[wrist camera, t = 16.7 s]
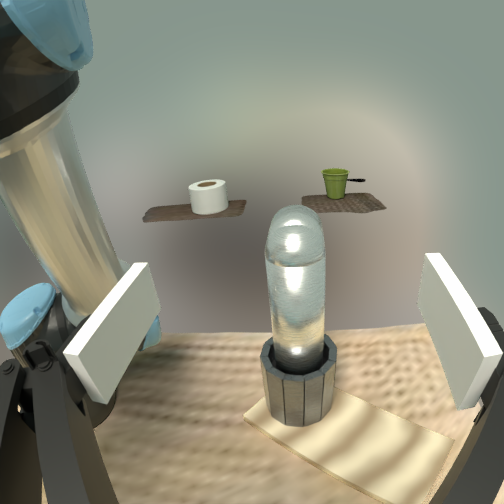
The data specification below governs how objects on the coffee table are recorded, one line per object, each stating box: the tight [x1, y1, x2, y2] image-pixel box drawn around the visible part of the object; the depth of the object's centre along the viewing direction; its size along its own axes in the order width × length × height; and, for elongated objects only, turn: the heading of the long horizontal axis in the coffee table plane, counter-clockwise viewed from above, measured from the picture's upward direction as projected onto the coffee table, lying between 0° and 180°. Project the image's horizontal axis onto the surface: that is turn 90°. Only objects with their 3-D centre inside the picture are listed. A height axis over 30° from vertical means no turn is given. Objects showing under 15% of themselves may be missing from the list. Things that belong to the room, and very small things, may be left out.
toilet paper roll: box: [189, 180, 229, 214], centre depth 135 cm, size 16×15×11 cm
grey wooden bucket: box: [260, 334, 337, 427], centre depth 44 cm, size 10×10×11 cm
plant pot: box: [321, 168, 349, 199], centre depth 131 cm, size 12×12×11 cm
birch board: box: [243, 387, 455, 504], centre depth 40 cm, size 30×13×2 cm, turn 46°
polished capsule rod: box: [265, 205, 325, 375], centre depth 39 cm, size 9×6×21 cm
